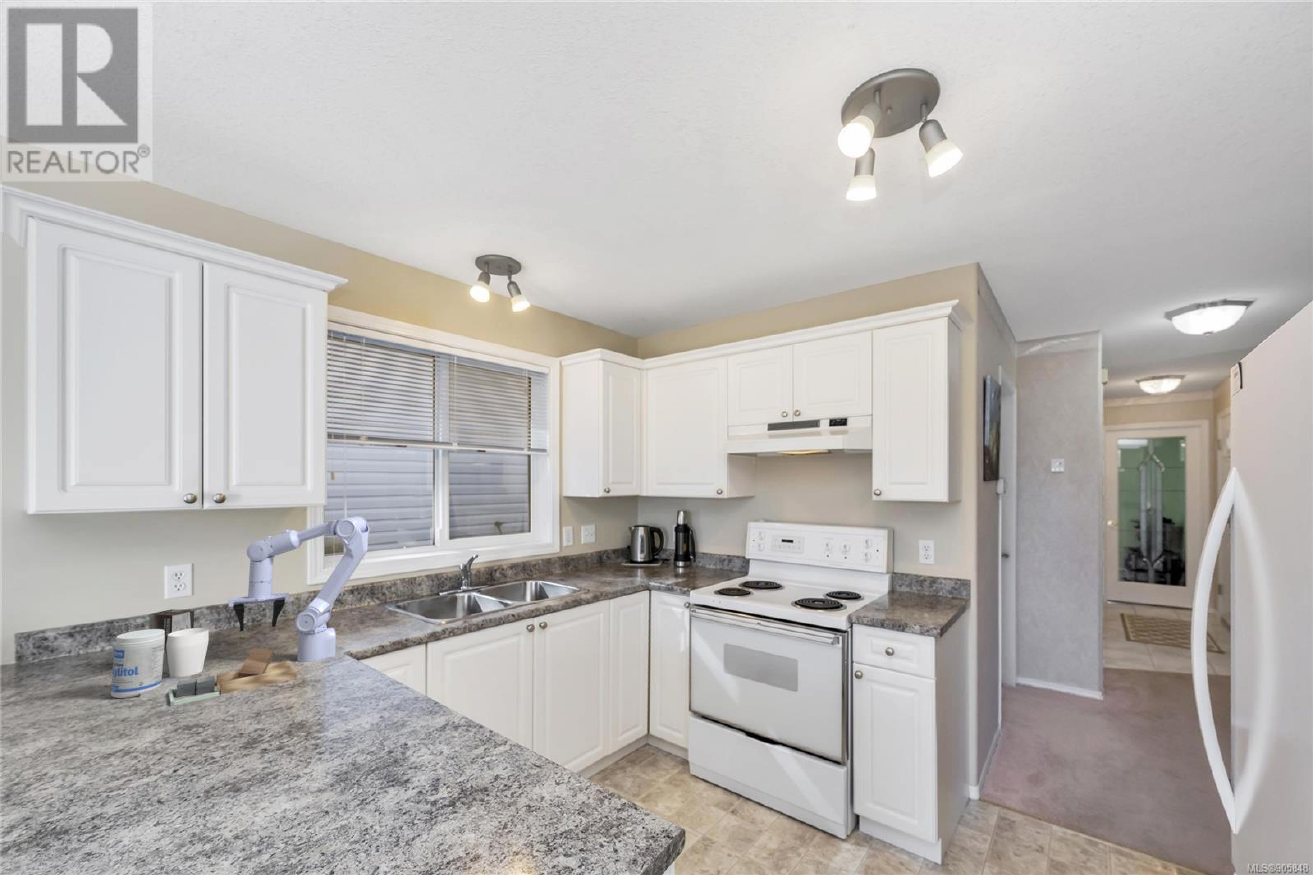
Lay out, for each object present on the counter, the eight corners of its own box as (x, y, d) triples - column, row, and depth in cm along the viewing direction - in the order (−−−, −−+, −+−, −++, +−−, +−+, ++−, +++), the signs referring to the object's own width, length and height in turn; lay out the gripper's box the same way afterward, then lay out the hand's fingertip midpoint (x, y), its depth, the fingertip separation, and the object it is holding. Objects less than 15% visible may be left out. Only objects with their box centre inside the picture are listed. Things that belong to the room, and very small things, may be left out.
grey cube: (213, 690, 143) (214, 675, 143) (214, 694, 140) (214, 679, 140) (196, 693, 141) (196, 679, 141) (196, 697, 138) (196, 682, 138)
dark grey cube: (196, 692, 141) (197, 678, 142) (194, 696, 138) (195, 682, 139) (178, 695, 139) (178, 681, 140) (176, 700, 136) (177, 685, 137)
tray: (213, 687, 146) (214, 680, 146) (218, 699, 138) (219, 692, 138) (168, 697, 139) (168, 689, 140) (170, 710, 131) (170, 702, 132)
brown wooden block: (237, 680, 145) (251, 655, 153) (260, 681, 147) (272, 657, 155) (238, 673, 144) (252, 648, 152) (261, 674, 146) (273, 649, 154)
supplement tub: (101, 701, 137) (105, 640, 138) (124, 687, 146) (128, 630, 147) (149, 696, 140) (152, 636, 141) (169, 683, 149) (172, 627, 150)
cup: (169, 684, 148) (171, 638, 149) (160, 678, 153) (162, 633, 154) (211, 675, 155) (213, 630, 156) (201, 668, 161) (203, 626, 162)
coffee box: (193, 666, 163) (196, 610, 164) (169, 673, 157) (172, 615, 158) (169, 664, 165) (172, 608, 166) (145, 671, 159) (148, 613, 160)
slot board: (288, 672, 156) (289, 660, 157) (296, 682, 149) (296, 668, 149) (216, 687, 145) (216, 674, 146) (220, 698, 138) (221, 684, 138)
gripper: (230, 586, 158) (227, 635, 157) (291, 580, 167) (288, 627, 166) (229, 582, 163) (226, 630, 162) (288, 577, 173) (285, 622, 171)
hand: (257, 628), depth 165 cm, fingers open, 7 cm apart
